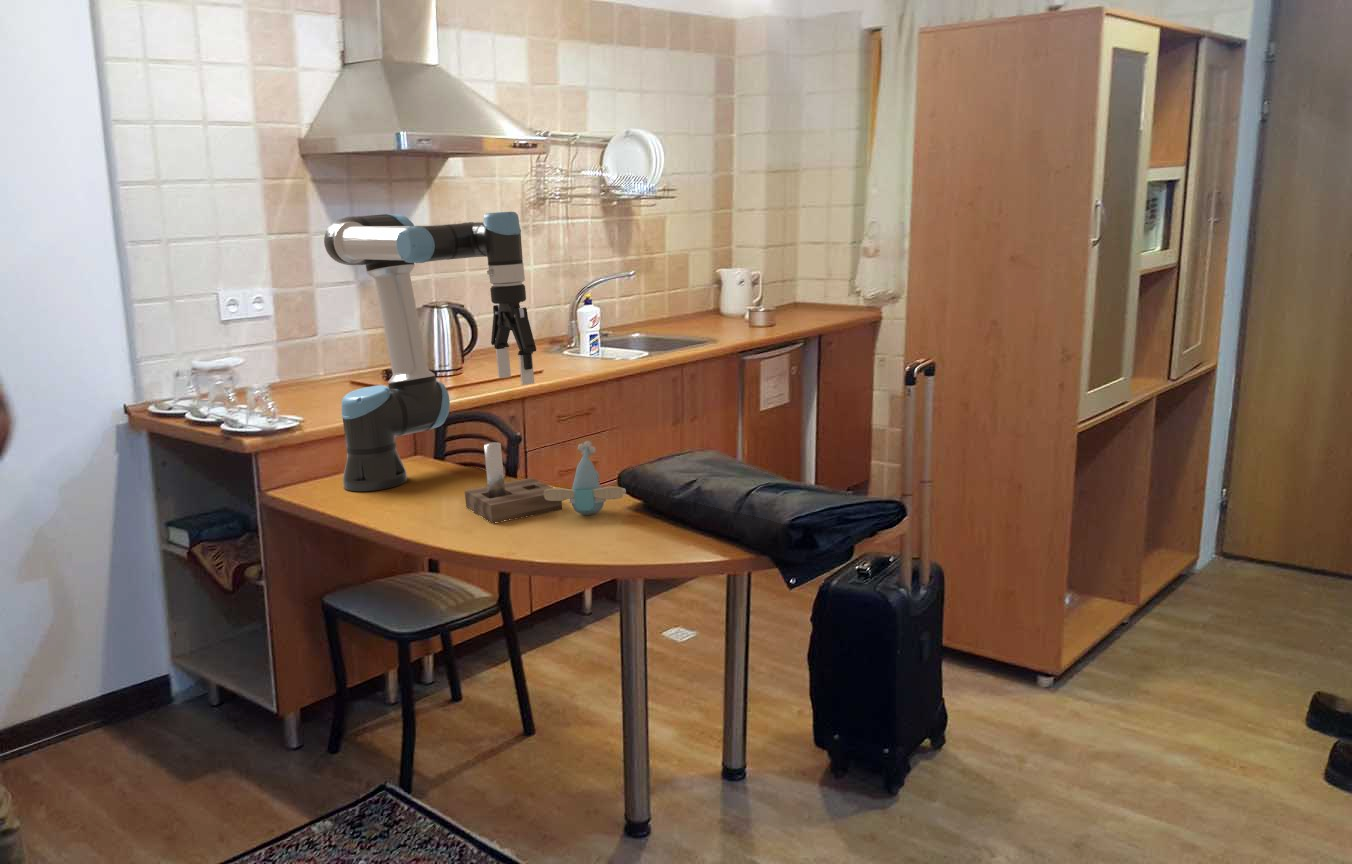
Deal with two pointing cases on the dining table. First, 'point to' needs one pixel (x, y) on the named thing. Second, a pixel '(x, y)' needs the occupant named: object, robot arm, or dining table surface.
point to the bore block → (512, 501)
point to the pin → (494, 470)
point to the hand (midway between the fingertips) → (516, 380)
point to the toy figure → (585, 486)
